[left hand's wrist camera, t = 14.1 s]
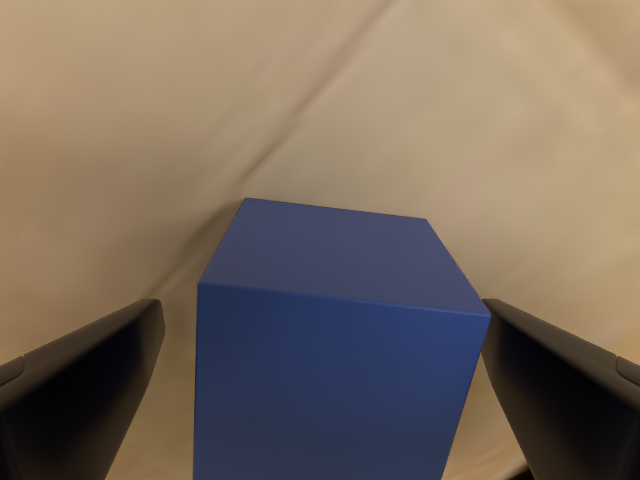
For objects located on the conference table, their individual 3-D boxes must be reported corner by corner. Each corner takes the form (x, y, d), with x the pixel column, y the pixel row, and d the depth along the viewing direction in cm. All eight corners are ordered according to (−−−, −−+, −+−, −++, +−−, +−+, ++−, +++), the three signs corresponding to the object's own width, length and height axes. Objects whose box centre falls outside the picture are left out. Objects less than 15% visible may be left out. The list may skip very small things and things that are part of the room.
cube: (426, 218, 12) (493, 315, 7) (391, 374, 14) (427, 528, 9) (245, 196, 11) (196, 282, 7) (235, 357, 13) (190, 508, 9)
